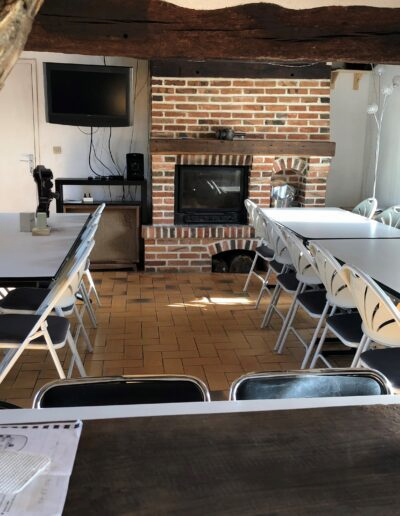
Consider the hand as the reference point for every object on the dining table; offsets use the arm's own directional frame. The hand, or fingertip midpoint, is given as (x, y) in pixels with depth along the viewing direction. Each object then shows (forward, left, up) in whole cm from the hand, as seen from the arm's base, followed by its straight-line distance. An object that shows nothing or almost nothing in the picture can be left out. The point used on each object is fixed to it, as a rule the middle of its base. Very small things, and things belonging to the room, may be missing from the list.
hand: (46, 211), depth 358 cm
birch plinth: (+14, -1, -13) cm, 19 cm away
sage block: (+14, -1, -9) cm, 17 cm away
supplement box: (+3, -12, -13) cm, 18 cm away
